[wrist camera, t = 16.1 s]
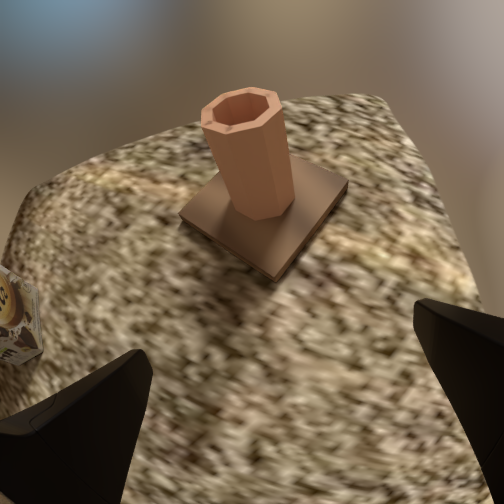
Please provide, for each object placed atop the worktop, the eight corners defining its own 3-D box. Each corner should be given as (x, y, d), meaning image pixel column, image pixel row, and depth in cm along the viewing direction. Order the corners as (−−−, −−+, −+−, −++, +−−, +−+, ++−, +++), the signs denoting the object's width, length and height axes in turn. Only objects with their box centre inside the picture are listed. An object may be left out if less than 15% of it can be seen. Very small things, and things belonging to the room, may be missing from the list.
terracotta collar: (269, 228, 25) (245, 140, 17) (223, 203, 28) (186, 122, 19) (304, 186, 27) (294, 96, 18) (258, 166, 29) (235, 83, 21)
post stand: (276, 282, 24) (268, 257, 20) (182, 220, 29) (163, 192, 25) (347, 187, 27) (350, 154, 23) (254, 147, 32) (246, 116, 28)
